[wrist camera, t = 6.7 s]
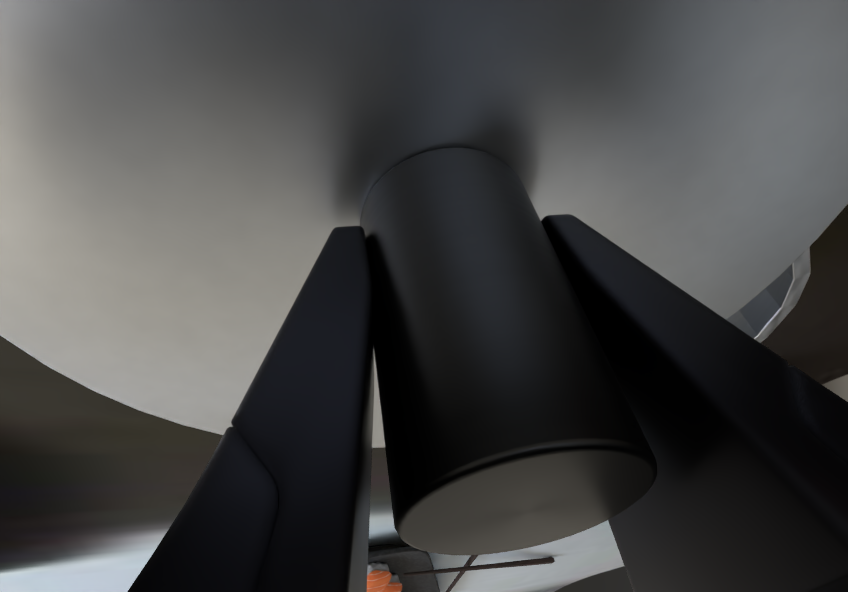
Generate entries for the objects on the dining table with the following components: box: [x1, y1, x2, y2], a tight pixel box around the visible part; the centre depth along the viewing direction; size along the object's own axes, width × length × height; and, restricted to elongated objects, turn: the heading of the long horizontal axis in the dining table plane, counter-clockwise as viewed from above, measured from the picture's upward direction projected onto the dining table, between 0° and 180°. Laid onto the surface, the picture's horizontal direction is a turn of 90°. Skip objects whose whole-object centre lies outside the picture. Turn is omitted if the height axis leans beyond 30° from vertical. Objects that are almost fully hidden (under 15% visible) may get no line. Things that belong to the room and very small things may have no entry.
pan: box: [726, 246, 811, 343], centre depth 25 cm, size 14×14×6 cm
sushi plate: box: [367, 545, 555, 592], centre depth 62 cm, size 29×30×4 cm
